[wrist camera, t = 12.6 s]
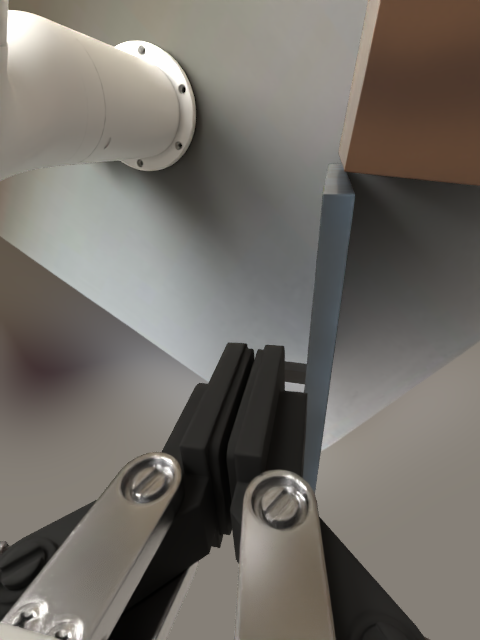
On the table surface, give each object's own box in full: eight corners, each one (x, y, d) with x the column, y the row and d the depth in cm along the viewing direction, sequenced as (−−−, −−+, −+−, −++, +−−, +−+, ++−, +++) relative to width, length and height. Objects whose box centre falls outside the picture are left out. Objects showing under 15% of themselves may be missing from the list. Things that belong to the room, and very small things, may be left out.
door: (269, 354, 51) (227, 497, 31) (275, 163, 39) (211, 191, 19) (320, 360, 49) (311, 516, 29) (343, 163, 37) (355, 194, 17)
